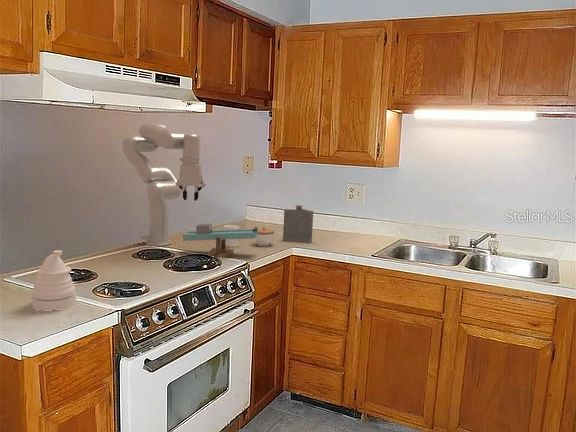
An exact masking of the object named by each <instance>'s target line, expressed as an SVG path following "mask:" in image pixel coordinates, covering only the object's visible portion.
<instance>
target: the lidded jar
mask: <svg viewBox="0 0 576 432" xmlns="http://www.w3.org/2000/svg"><path fill="white" fill-rule="evenodd" d="M257 229H258V235H257V237H256V238H253V240H254V242H255V243H256V245H257V246H258V247H269V246H270V245H271V243H273V240H274V236H275V230H273V229H271V228H266V227H265V226H264V227H262V228H257Z"/></svg>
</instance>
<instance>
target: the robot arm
mask: <svg viewBox="0 0 576 432" xmlns="http://www.w3.org/2000/svg"><path fill="white" fill-rule="evenodd" d="M138 133H139V135H137V134H136V135H135V134H134V135H129V136H126V137H125V138H124V139H123V140H122V151H123V155H124V156H125V158H126V160H127V161H128V162H129V163H130V164H131V165H132V167H133V168H134V170H135V172H136V173H137V175H138V177H139V178H140V180H141V181H142V183H144V184H145V185H147V187H146V194H147V202H148V233H147V234H141V235H140V238H141V240H145V244H146V245H147V246H152V247H162V246H163V247H165V246H169V245H171V244H172V240H171V239H169V207H168V205H167V203H166V200H167V201H168V200H176V199H178V198H180V196H181V195H182V199H183V201H186V200H188V191H187V187H188V186H189V187H190V186H191V187H194V190H195V191H194V192H193V200H194V201H195V202H196V201H198V199H199V192H200V191H201V190H203V188H205V187H206V186H207V185H206V183H205V181H204V180H203V173H202V165H201V164H200V148H201V147H200V139H201V138H200V136H199V135H198V134H194V133H184V132H183V133H182V132H170V130H169V129H168V127H167V126H166V125H165V124H163V123H155V122H146V123H143V124H141V125H140V126H139V128H138ZM159 147H160V148H163V149H167V150H182V157H179V161H180V162H182V163H180V167H179V175H178V180H177V178H176V177H175V175H174V174H173V172H172V171H171V170H170V168H169V167H167V166H166V165H154V164H153V163H151V161H150V160H149V158H148V157H147V156H146V155H144V154H143V153H153V152H155V151H156V150H157V149H158V148H159Z"/></svg>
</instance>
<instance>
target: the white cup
mask: <svg viewBox="0 0 576 432" xmlns="http://www.w3.org/2000/svg"><path fill="white" fill-rule="evenodd" d="M223 230H240V226H239V225H234V224H227V225H226V224H225V225H224V226H223ZM238 241H239V239H226V248H230V247H231V248H233V247H234V248H235V247H237V246H238V244H239V242H238Z"/></svg>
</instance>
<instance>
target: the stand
mask: <svg viewBox="0 0 576 432" xmlns="http://www.w3.org/2000/svg"><path fill="white" fill-rule="evenodd" d="M234 249H235V248H230V247H227V246H226V239H223V240H222V241H221V238H220V237H216V240H215V247H212V249H210V250H209V251H208V252H207V253H206V256H207V255H209V256H214V257H213V258H220V257H223V258H224V259H229V258H230V257H231V256H232V255H233V253H234Z"/></svg>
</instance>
